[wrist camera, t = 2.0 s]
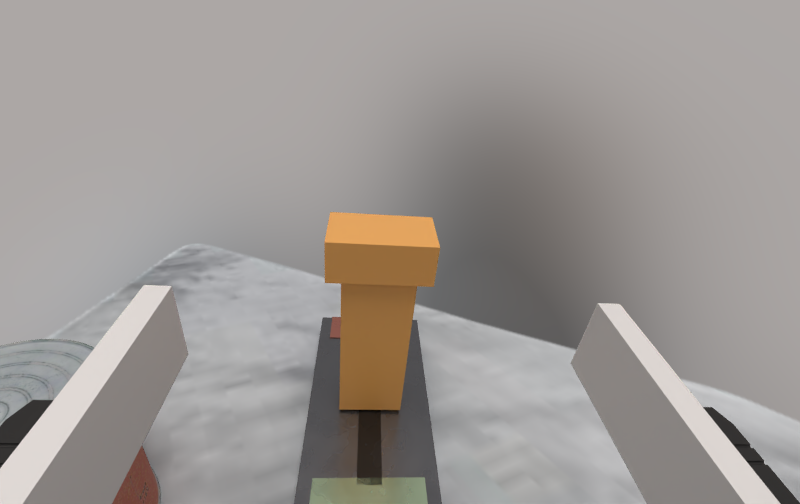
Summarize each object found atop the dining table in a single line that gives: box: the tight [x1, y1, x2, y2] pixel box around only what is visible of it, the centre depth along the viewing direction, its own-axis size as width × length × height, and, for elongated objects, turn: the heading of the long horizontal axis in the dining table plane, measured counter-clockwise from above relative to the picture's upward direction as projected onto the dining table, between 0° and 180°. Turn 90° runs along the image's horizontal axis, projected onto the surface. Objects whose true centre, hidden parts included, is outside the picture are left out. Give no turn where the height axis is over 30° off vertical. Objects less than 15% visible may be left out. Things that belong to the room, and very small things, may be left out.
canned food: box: [0, 339, 161, 504], centre depth 24 cm, size 11×11×12 cm
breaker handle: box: [325, 212, 440, 410], centre depth 31 cm, size 4×7×16 cm, turn 93°
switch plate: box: [294, 317, 442, 504], centre depth 36 cm, size 20×10×3 cm, turn 3°
